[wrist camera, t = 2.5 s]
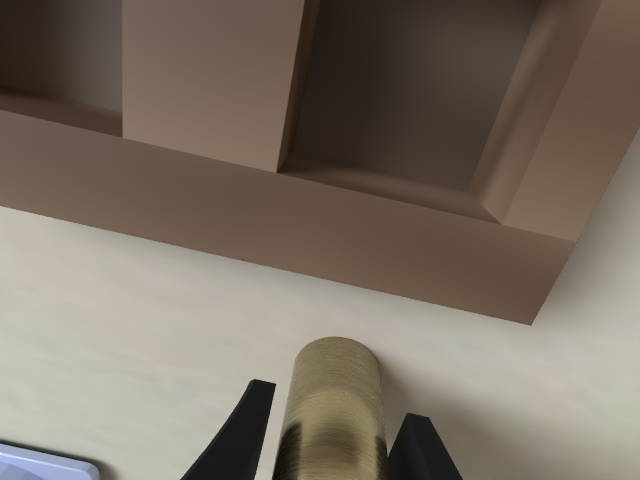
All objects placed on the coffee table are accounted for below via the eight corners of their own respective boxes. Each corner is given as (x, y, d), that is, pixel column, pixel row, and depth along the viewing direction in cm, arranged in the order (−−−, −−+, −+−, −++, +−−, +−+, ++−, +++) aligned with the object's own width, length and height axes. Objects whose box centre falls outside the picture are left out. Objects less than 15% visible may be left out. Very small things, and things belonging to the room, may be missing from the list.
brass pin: (366, 410, 13) (382, 741, 6) (287, 393, 13) (223, 707, 6) (389, 347, 12) (437, 672, 5) (302, 328, 12) (244, 632, 5)
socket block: (482, 259, 10) (531, 325, 8) (-18, 145, 10) (-157, 170, 7) (644, -107, 7) (832, -226, 4) (-86, -285, 7) (-378, -531, 4)
